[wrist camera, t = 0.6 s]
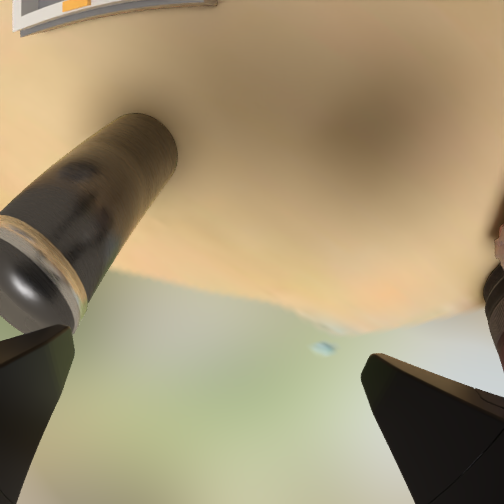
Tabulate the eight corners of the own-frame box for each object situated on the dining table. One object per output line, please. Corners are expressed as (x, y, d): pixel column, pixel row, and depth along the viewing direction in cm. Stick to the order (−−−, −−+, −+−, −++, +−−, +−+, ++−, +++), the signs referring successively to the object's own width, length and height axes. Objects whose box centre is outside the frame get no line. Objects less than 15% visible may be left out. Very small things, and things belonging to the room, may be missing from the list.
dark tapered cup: (97, 113, 18) (-54, 232, 8) (177, 112, 17) (34, 254, 7) (108, 187, 21) (1, 325, 11) (180, 194, 21) (91, 360, 11)
